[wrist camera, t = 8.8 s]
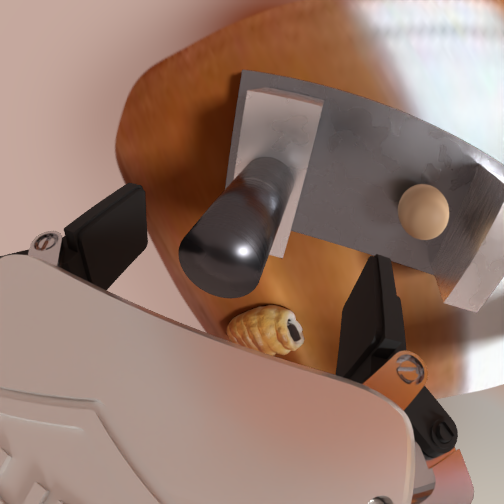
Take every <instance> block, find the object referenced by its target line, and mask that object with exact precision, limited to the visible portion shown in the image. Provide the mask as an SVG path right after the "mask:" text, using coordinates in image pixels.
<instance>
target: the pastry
mask: <svg viewBox="0 0 504 504" xmlns="http://www.w3.org/2000/svg"><path fill="white" fill-rule="evenodd" d="M295 319H296V318H295V315H294V313H293V312H292V311H290V310H288V309H286V308H283V307H281V306H277V305H268V306H264V307H261V306H259V307H257V308H253V309H252V310H248V311H247V312H244V313H242V314H240V315H238V316H236V317H234V318H233V319H232V320H231V321H230V323H229V325H228V327H227V332H226V333H227V335H228V337H229V338H230V341H231V342H232V343H235V344H238V345H241V346H244V347H247V348H250V349H253V350H256V351H259V352H262V353H266V354H268V355H271V356H273V355H275V354H276V353H277V354H281V355H286V354H288V353H289V352H290V351H291V350H292V351H296V350H297V348H299V347H300V346H301V345H302V344H303V342H304V336H303V333H302V327H301V325H300V324H299V323H298V322H297V321H296V320H295Z"/></svg>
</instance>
